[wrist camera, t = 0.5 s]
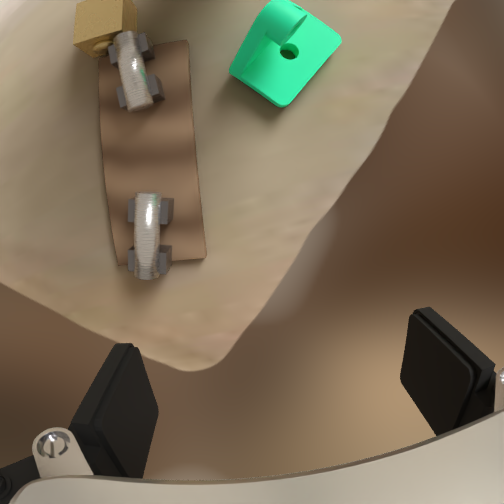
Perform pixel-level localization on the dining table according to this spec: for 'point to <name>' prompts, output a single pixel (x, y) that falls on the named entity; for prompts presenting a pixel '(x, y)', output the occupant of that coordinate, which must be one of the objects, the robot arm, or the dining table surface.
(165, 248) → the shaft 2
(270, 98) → the camera mount
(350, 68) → the dining table surface
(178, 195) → the shaft bed
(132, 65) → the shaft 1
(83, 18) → the gold square block
